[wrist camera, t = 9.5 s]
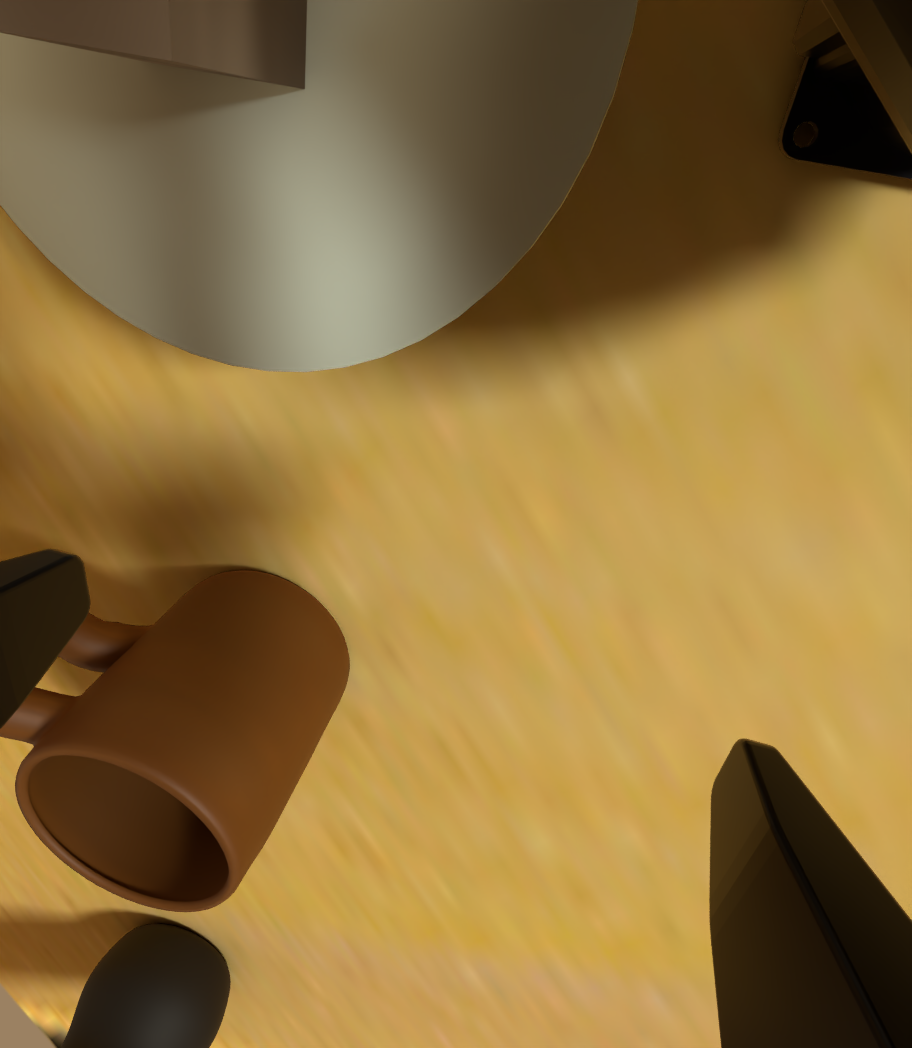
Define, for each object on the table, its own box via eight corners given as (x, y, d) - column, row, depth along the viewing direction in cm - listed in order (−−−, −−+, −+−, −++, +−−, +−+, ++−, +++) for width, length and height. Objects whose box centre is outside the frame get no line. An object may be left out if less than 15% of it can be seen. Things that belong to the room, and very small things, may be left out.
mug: (75, 573, 28) (-145, 738, 20) (137, 452, 24) (-104, 597, 16) (300, 733, 30) (180, 944, 22) (391, 644, 26) (287, 860, 18)
